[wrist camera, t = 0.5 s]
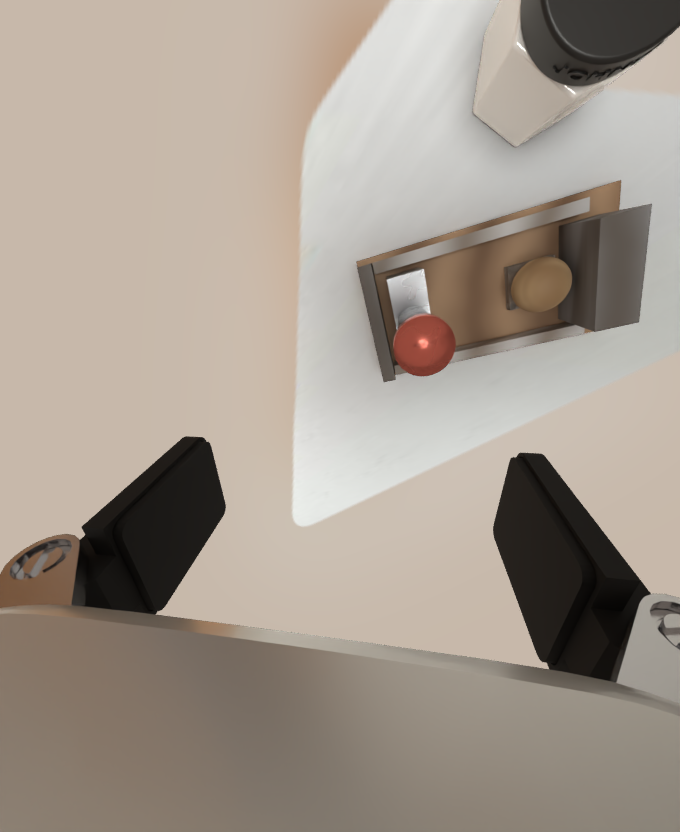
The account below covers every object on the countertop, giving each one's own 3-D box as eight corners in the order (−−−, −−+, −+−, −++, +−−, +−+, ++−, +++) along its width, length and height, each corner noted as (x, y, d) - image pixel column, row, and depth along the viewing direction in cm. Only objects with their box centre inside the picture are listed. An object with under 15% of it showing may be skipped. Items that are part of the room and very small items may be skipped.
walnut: (556, 249, 28) (584, 248, 24) (556, 301, 29) (582, 308, 26) (502, 264, 29) (521, 266, 25) (505, 314, 30) (523, 322, 27)
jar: (488, 168, 27) (554, 110, 17) (454, 53, 24) (508, -103, 14) (606, 94, 24) (778, -31, 14) (583, -44, 22) (776, -335, 11)
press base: (611, 183, 27) (683, 159, 20) (602, 325, 31) (658, 342, 25) (357, 261, 32) (350, 262, 25) (383, 373, 36) (382, 398, 30)
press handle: (422, 265, 30) (446, 271, 18) (435, 348, 33) (462, 398, 21) (382, 277, 31) (380, 290, 19) (398, 356, 34) (405, 409, 22)
